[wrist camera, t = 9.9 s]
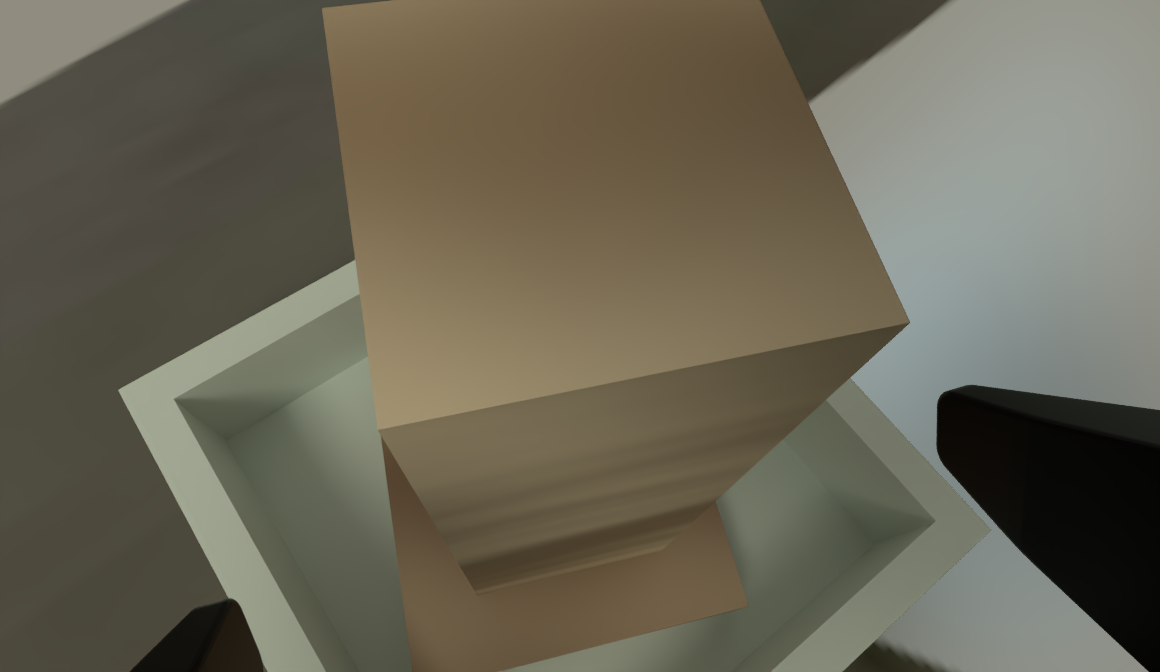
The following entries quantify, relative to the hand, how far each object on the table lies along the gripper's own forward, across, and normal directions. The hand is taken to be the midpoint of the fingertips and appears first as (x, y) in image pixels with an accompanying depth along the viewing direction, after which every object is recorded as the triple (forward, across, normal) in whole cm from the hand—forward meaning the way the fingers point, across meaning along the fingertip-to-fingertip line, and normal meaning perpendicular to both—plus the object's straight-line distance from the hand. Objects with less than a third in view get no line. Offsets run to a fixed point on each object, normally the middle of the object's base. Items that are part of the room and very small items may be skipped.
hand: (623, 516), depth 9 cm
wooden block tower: (+8, 0, +4) cm, 9 cm away
